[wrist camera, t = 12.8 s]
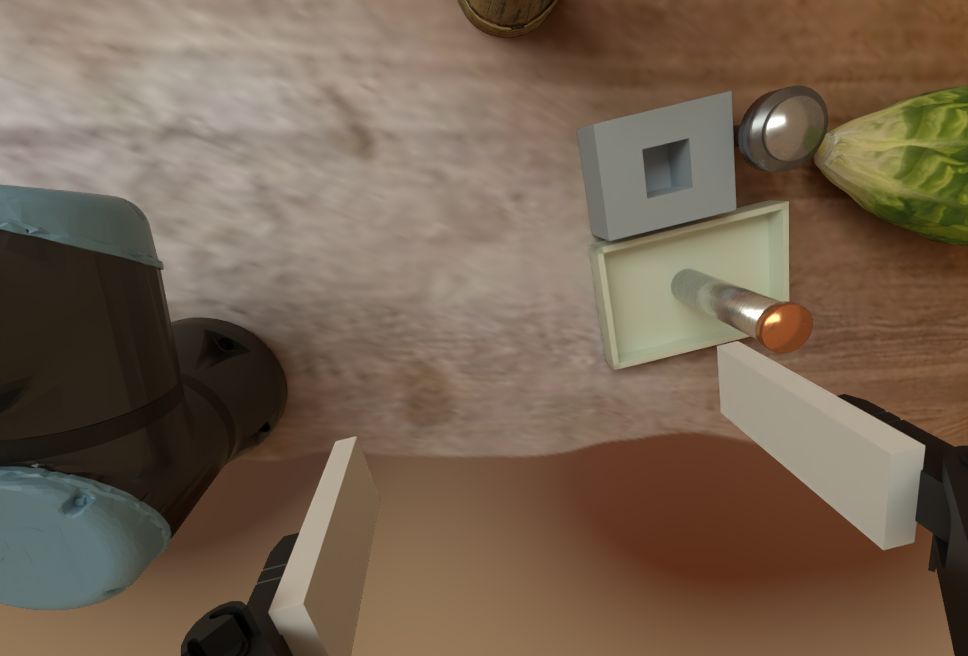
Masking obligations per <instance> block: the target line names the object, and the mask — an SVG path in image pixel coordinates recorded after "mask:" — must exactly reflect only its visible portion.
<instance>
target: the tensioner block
mask: <svg viewBox="0 0 968 656" xmlns="http://www.w3.org/2000/svg"><path fill="white" fill-rule="evenodd" d="M577 135H578V142H579V149H580V156H581V162H582V169H583V176H584V183H585V189H586V196H587V203H588V210H589V217H590V223H591V230H592V235H595V236H598V237H600V238H603V239H605V240H608V241H612V240H616V239H620V238H624V237H628V236H632V235H636V234H640V233H644V232H648V231H652V230H657V229H661V228H665V227H669V226H673V225H677V224H681V223H685V222H689V221H693V220H697V219H701V218H705V217H709V216H714V215H718V214H722V213H726V212H730V211H734V210H736V188H735V164H734V140H733V116H732V91H728V92H724V93H720V94H716V95H712V96H708V97H704V98H699V99H695V100H691V101H687V102H683V103H679V104H675V105H671V106H667V107H662V108H658V109H654V110H650V111H646V112H642V113H638V114H634V115H629V116H625V117H621V118H617V119H613V120H609V121H605V122H601V123H597V124H593V125H590V126H587V127H584V128H581V129H578V130H577Z"/></svg>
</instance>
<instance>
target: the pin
mask: <svg viewBox="0 0 968 656" xmlns="http://www.w3.org/2000/svg"><path fill="white" fill-rule="evenodd" d="M671 292H672V294H673V295H674V296H675V297H676V298H677V299H679V300H681V301H683V302H685V303H687V304H689V305H691V306H693V307H695V308H697V309H699V310H701V311H703V312H704V313H706V314H708V315H710V316H712V317H714V318H716V319H718V320H720V321H722V322H724V323H726V324H728V325H730V326H732V327H733V328H735V329H737V330H739V331H741V332H743V333H745V334H747V335H749V336H751V337H753V338H755V339H757V340H758V341H759V343H760V344H761V345H763V346H764V347H766V348H768V349H770V350H772V351H774V352H777V353H788V352H792V351H794V350H796V349H798V348H799V347H800V346H802V345H803V344H804V343H805V342H806V340H807V339H808V338H809V336H810V334H811V331H812V327H813V319H812V316H811V314H810V312H809V311H808V310H807V309H806V308H804V307H802V306H800V305H797V304H794V303H791V302H786V301H784V302H781V301H778V300H775V299H773V298H770V297H767V296H764V295H762V294H759V293H756V292H754V291H751V290H748V289H745V288H743V287H740V286H737V285H735V284H732V283H729V282H726V281H724V280H721V279H718V278H716V277H713V276H710V275H708V274H705V273H702V272H699V271H697V270H694V269H683V270H681V271H679V272H678V273H677V274H676V275H675V276H674V278H673V279H672V282H671Z"/></svg>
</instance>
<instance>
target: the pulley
mask: <svg viewBox="0 0 968 656" xmlns="http://www.w3.org/2000/svg"><path fill="white" fill-rule="evenodd" d="M827 125H828V114H827V109H826V105H825V103H824V101H823V99H822V98H821V96H820V95H819V94H818V93H817V92H816V91H814V90H813V89H811V88H808V87H805V86H791V87H786V88H783V89H779V90H775V91H771V92H769V93H766V94H764V95H763V96H761V97H760V98H758V99H757V100H756V101H755V102H754V103H753V104H752V105H751V106H750V108H749V109H748V110H747V112H746V113H745V115H744V117H743V119H742V122H741V125H736V126H733V140H734V148H738V147H739V148H740V152H741V154H742V156H743V158H744V160H745V161H746V162H747V163H748V164H749V165H750V166H751V167H753V168H755V169H757V170H760V171H788V170H792V169H795V168H797V167H800V166H801V165H803V164H805V163H806V162H807V161H808V160H809V159H811V158H812V157H813V155H814V154H815V153H816V152H817V150H818V149H819V148H820V146H821V144H822V142H823V140H824V137H825V134H826V131H827Z"/></svg>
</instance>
